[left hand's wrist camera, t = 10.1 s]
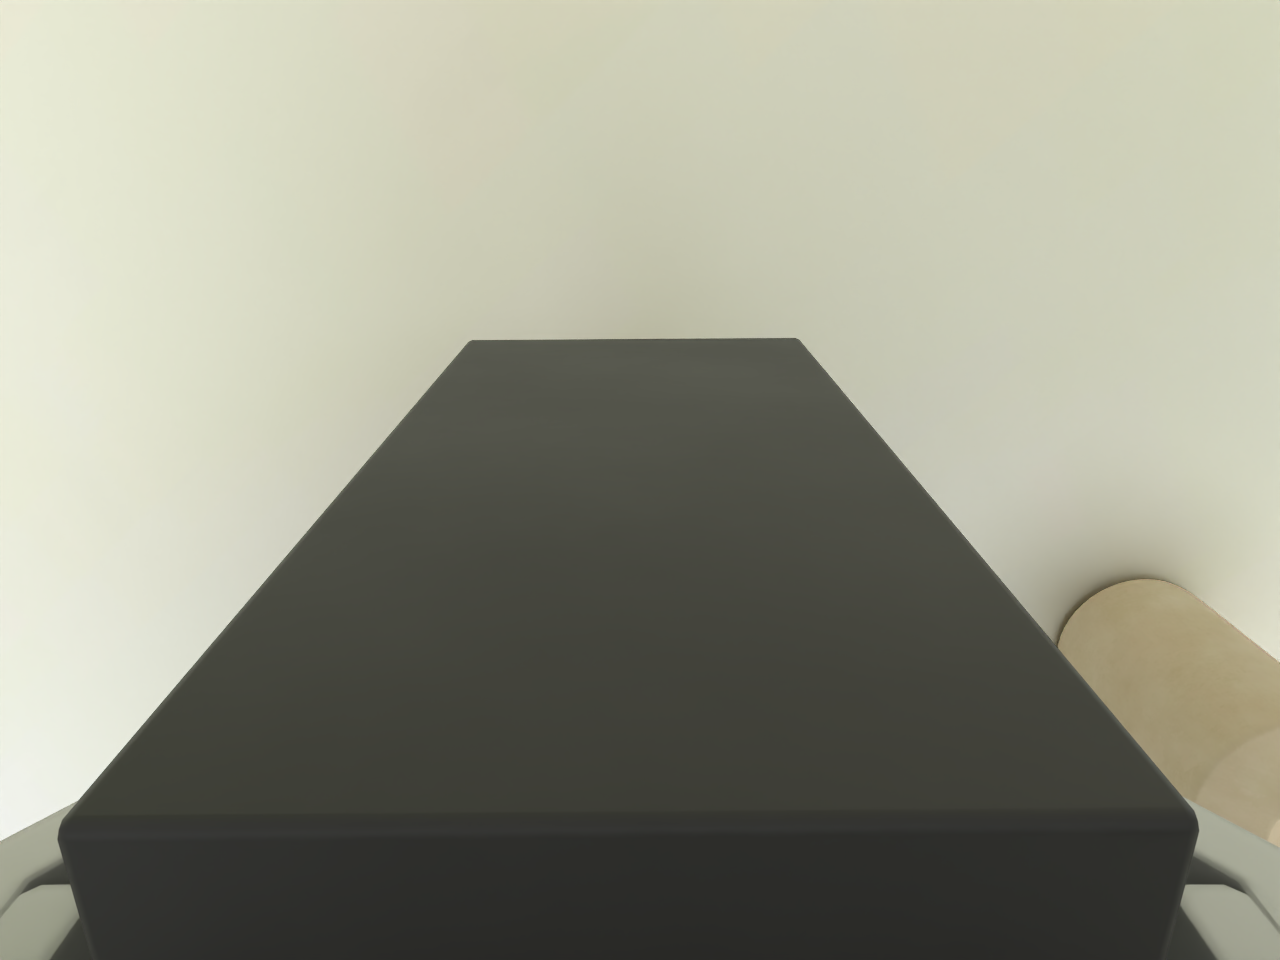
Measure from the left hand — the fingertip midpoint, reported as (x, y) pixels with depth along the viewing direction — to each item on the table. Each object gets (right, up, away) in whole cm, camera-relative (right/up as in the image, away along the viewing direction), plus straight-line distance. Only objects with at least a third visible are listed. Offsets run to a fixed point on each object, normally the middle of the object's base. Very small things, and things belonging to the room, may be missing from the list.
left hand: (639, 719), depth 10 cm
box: (0, -8, +10) cm, 13 cm away
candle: (+18, -3, +23) cm, 29 cm away
